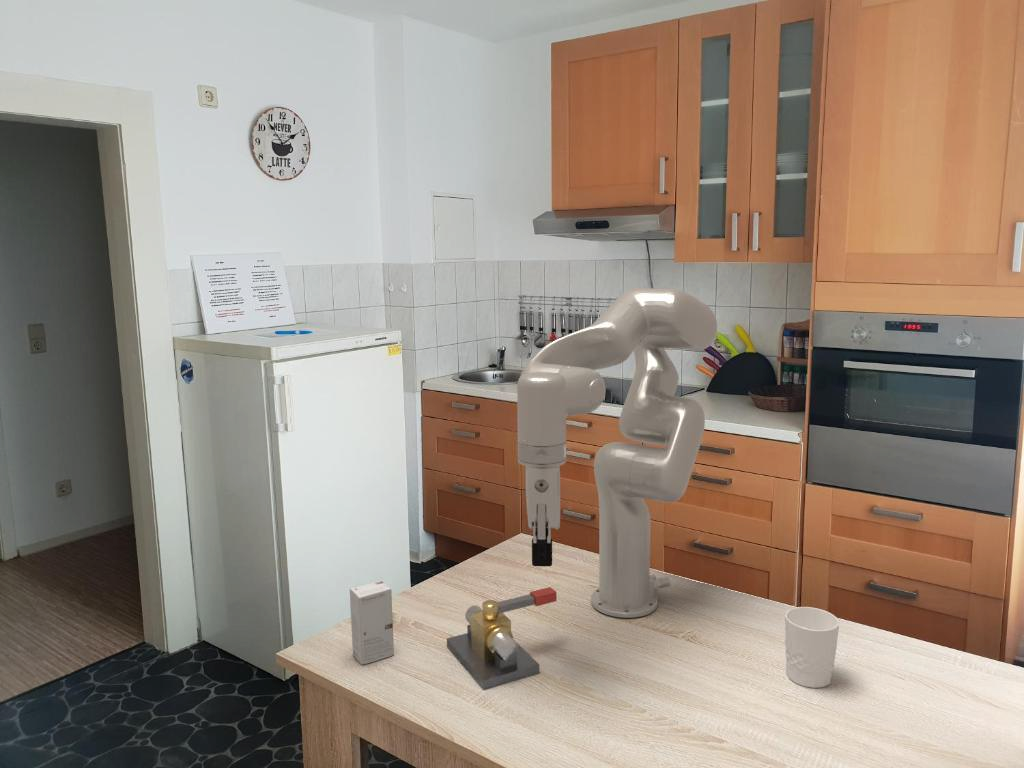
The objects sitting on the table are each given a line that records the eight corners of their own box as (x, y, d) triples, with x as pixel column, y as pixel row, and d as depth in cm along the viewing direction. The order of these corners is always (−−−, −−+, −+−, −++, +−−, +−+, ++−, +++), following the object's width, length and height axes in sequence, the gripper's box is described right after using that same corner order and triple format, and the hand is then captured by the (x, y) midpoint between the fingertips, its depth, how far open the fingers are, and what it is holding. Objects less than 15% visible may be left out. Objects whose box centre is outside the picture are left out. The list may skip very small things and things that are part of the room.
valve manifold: (498, 632, 140) (497, 593, 139) (539, 672, 127) (538, 630, 126) (447, 646, 136) (445, 606, 134) (483, 689, 123) (482, 645, 121)
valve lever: (486, 620, 128) (486, 608, 128) (480, 614, 131) (479, 602, 130) (557, 602, 134) (557, 591, 134) (549, 596, 136) (549, 585, 136)
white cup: (834, 667, 127) (837, 610, 125) (836, 694, 120) (840, 634, 118) (782, 660, 130) (785, 603, 128) (782, 685, 122) (785, 626, 120)
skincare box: (362, 666, 130) (358, 598, 128) (351, 654, 134) (347, 588, 132) (396, 655, 133) (392, 588, 131) (385, 644, 137) (381, 579, 135)
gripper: (566, 465, 114) (566, 584, 117) (565, 440, 129) (565, 547, 132) (515, 465, 114) (516, 583, 118) (519, 440, 129) (520, 546, 132)
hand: (542, 564), depth 125 cm, fingers closed
